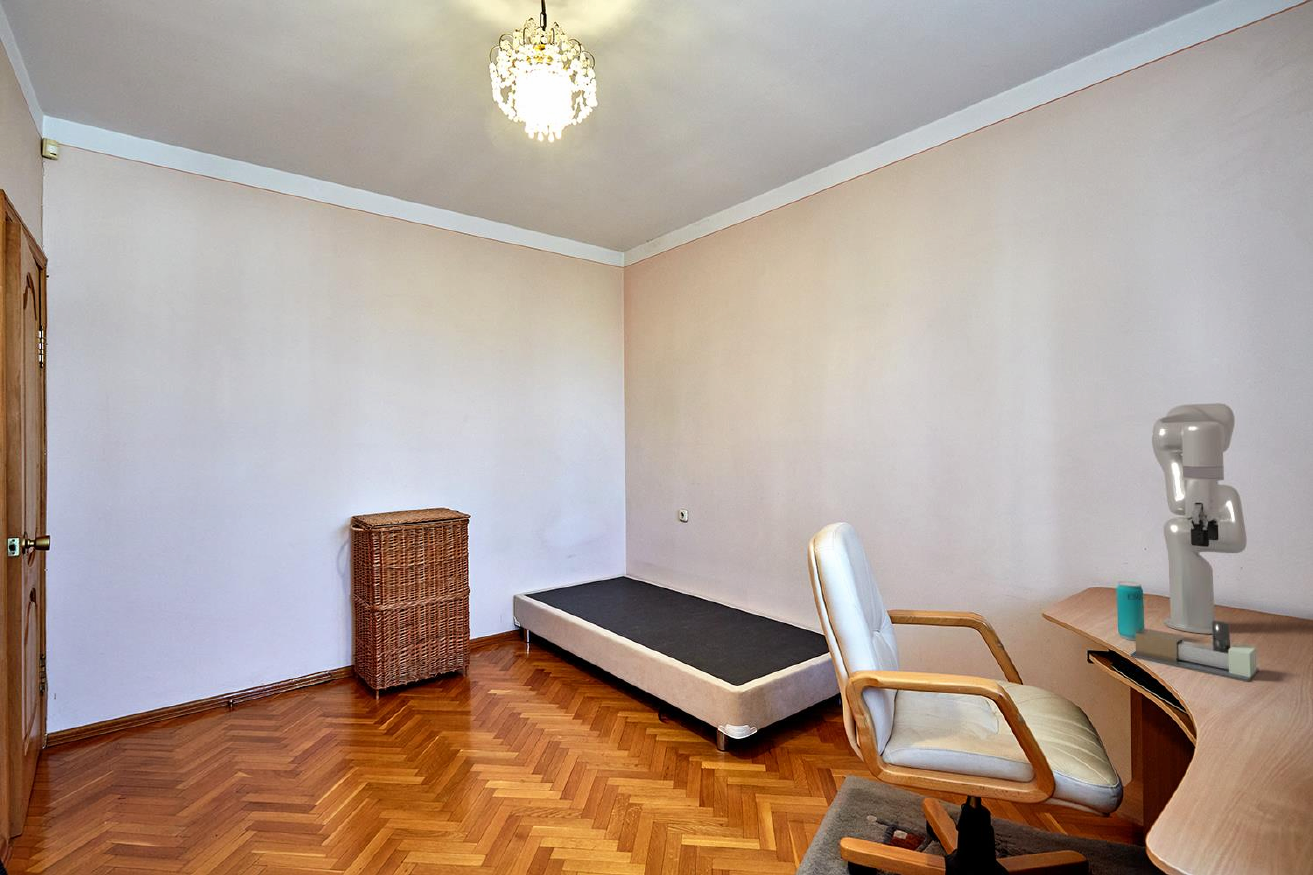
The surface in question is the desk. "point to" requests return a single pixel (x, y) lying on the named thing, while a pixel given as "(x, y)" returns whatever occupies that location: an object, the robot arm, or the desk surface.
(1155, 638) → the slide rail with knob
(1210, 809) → the desk surface
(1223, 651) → the grey slider block
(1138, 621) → the beverage can
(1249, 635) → the desk surface
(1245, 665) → the socket
